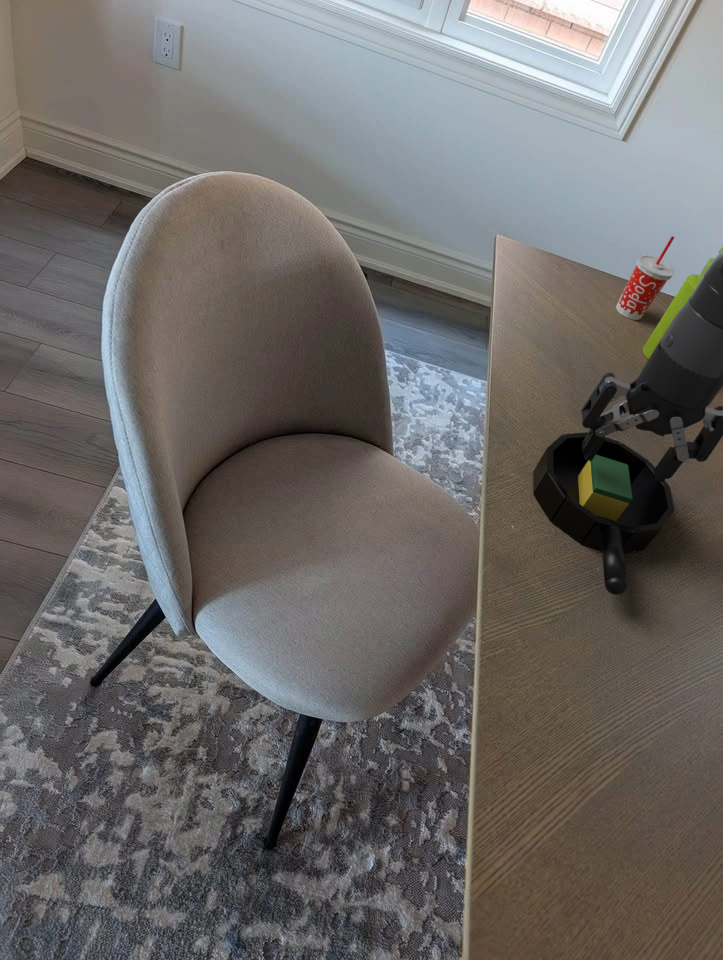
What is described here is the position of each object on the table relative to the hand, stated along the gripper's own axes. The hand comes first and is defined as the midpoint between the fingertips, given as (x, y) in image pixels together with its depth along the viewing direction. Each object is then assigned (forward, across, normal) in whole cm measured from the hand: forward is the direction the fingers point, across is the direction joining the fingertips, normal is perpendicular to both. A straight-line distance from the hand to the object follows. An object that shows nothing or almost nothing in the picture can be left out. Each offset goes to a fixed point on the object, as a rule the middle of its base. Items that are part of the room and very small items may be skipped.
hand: (622, 466), depth 86 cm
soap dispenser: (+7, -13, -38) cm, 41 cm away
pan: (+6, 0, +4) cm, 8 cm away
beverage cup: (+6, -9, -50) cm, 52 cm away
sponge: (+6, 0, 0) cm, 6 cm away
